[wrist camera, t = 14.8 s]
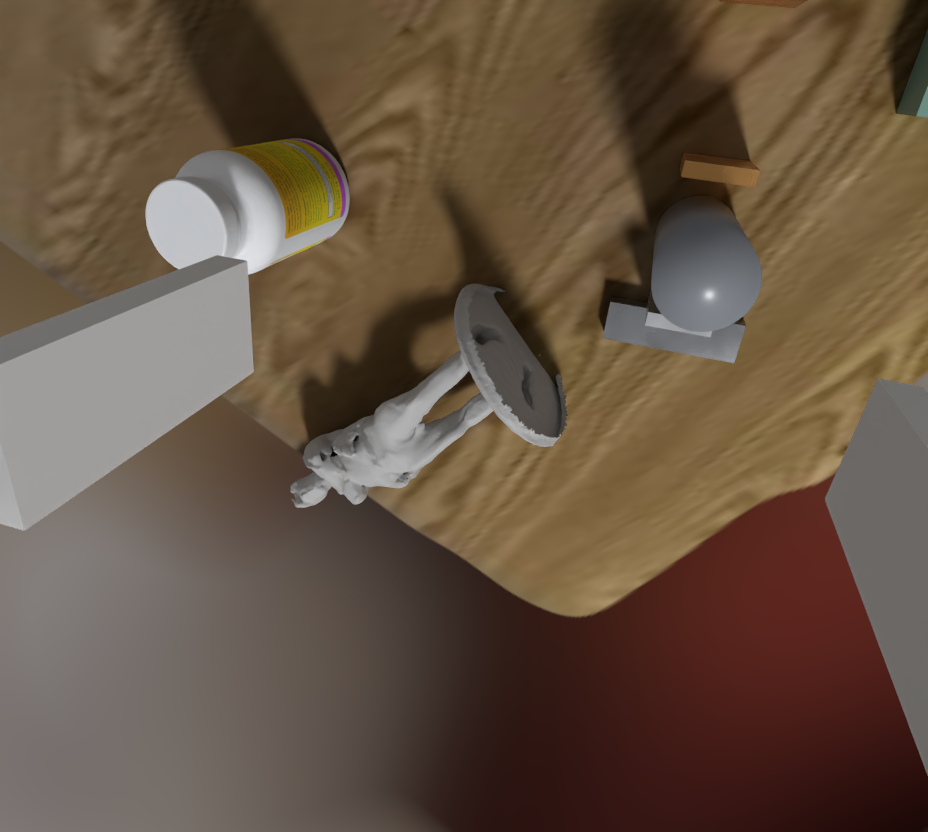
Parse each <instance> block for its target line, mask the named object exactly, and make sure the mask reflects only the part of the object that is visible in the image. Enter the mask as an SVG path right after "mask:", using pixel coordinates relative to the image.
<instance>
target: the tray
mask: <svg viewBox="0 0 928 832" xmlns="http://www.w3.org/2000/svg"><path fill="white" fill-rule="evenodd" d="M896 113H897V114H904V115H912V116H920V117H928V29H927V32H926V35H925V37H924V40H923V43H922V45H921V48H920V51H919V53H918V56H917V59H916V61H915V64H914V67H913V69H912V72H911V75H910V77H909V80H908V83H907V85H906V88H905V91H904V93H903V96H902V99H901V101H900V104H899V107H898V109H897V112H896Z"/></svg>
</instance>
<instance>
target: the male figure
mask: <svg viewBox="0 0 928 832" xmlns="http://www.w3.org/2000/svg"><path fill="white" fill-rule="evenodd" d="M496 291H499V292H506V291H504V290H501V289H500V288H496V287H490V286H486V285H482V284H469V285H467V286H465V287H464V288H463V289H462V290H461V292H460V294H459V295H458V298H457V301H456V305H455V310H454V326H455V333H456V337H457V341H458V344H459V347H460V350H461V351H459V352H457V353H456V354H454V355H453V356H452V357H451V358H449V359H448V360H447V361H446V362H445V363H444V364H442V365H441V366H440V367H439V368H438V369H437V370H435V371H434V372H433V373H432V374H431V375H429V376H428V377H427V378H426V379H425V380H424V381H422V382H421V383H419V384H418V386H417V387H415V388H413V389H412V390H411V391H409V392H406V393H404V394H401V395H400V396H397V397H395V398H392V399H390V400H388V401H386V402H383V403H382V404H381V405H380V406H379V407H378V408H377V409H376V411H375V413H374V415H371V416H367V417H364V418H362V419H360V420H358V421H357V422H355V423H353V424H351V425H350V426H348V427H346V428H345V429H339V430H336V431H334V432H331V433H327V434H323V435H320V436H318V437H316V438H315V439H313V440H312V441H310V442H309V443H308V445H307V446H306V447H305V450H304V456H303V460H304V463H305V464H306V467H308V468H310V469H312V470H313V472H312V473H311V474H310V475H308V476H306V477H303V478H300V479H298V480H296V481H295V482H294V483H293V484H292V485H291V493H294V495H295V498H296V499H295V500H292V501H294V504H295V506H296V507H298V508H299V507H302V508H303V507H308V506H310V505H315V504H317V503H319V502H320V501H321V500H323V499H324V498H325V497H326V495H327V491H328V490H329V489H330V488H331V486H333V488H335V489H336V490H337V491H338V493H339V494H344V495H345V496H346V497H347V498H348V499H349V500H350V501H351V502H352V503H353V504H359V503H361V502H362V501H363V500H364V499H365V498H366V497H367V494H368V490H369V487H373V486H384V487H390V488H391V487H393V488H402V487H404V486H406V485H407V484H408V483H409V481H411V479H413V478H415V477H416V476H417V474H418V472H419V471H420V470H421V468H422V467H423V466H425V465H426V464H428V463H430V462H431V461H432V460H433V459H434V458H435V457H436V456H437V455H438V454H439V453H440V452H442V451H443V450H444V449H445V448H446V447H447V446H449V445H450V444H451V443H452V442H453V441H455V440H456V439H458V438H459V437H461V436H462V435H463V434H464V433H465V432H466V430H467V429H468V428H469V427H471V426H473V425H475V424H477V423H478V422H480V421H481V420H482V419H484V418H485V417H487V416H488V415H489V414H490V413H491V412H493V411H494V412H495V413H496V414H497V416H498V417H499V418H500V419H501V420H502V421H503V422H504V423H505V424H506V425H507V426H508V427H509V428H510V429H511V430H512V431H513V432H515V433H516V434H518V435H519V436H520V437H522V438H523V439H524V440H526V441H528V442H530V443H532V444H535V445H538V446H542V447H548V446H552V445H554V443H555V442H556V441H557V440H558V439H559V437H561V436H562V432H563V430H564V429H565V428H564V427H565V426H567V424H566V423H565V420H566V419H567V418H566V416H567V413H566V412H567V411H566V408H567V407H566V406H565V403H566V400H565V399H566V396H565V395H564V391H563V388H562V387H563V385H562V377H561V378H560V374H557V375H556V381H557V385H558V388H557V387H556V385H555V384H554V383H553V381H552V380H551V378H550V376H549V375H548V373H547V372H546V371H545V370H544V368H543V367H542V366H541V364H540V363H539V361H538V360H537V359H536V357H535V356H534V354H533V353H532V352H531V350H530V349H529V347H528V346H527V344H526V343H525V341H524V340H523V339H522V337H521V336H520V334H519V333H518V332H517V330H516V328H515V327H514V326H513V324H512V323H511V321H510V320H509V318H508V317H507V315H506V314H505V313H504V311H503V310H502V308H501V307H500V305H499V304H498V302H497V301H496V299H495V297H494V293H495V292H496ZM544 351H545V350H544ZM539 357H540V354H539ZM468 371H469V372H470V373H471V375H472V378H473V379H474V381H475V383H476V385H477V387H478V388H479V390H480V392H481V393H479V394H478V395H476V396H474V397H473V398H472V399H470V400H469V401H468V402H467V404H465V405H464V406H463V407H462V408H461V409H459V410H457V411H454V412H452V413H451V414H449V415H447V416H446V417H443V418H442V419H437V420H434V421H432V422H430V423H428V424H425V423H424V422H421V421H422V418H423V416H424V415H426V414H427V413H428V412H429V411H430V409H431V408H432V407H433V405H434V404H435V403H436V402H437V400H438V399H439V398H440V397H441V396H442V395H443V394H444V393H445V392H447V391H448V390H449V389H451V388H452V387H453V386H454V385H456V384H457V383H458V382H459V381H460V380H461V379H462V378H463V377H464V376H465V375H466V374H467V372H468ZM568 406H569V405H568ZM565 407H566V408H565ZM355 438H356V439H357V440H356V441H353V440H354V439H355ZM332 449H333V451H334V452H335V453H336V454H337V456H335V457H333V456H332V457H330V455H331V453H332ZM323 460H324V461H323Z"/></svg>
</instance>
